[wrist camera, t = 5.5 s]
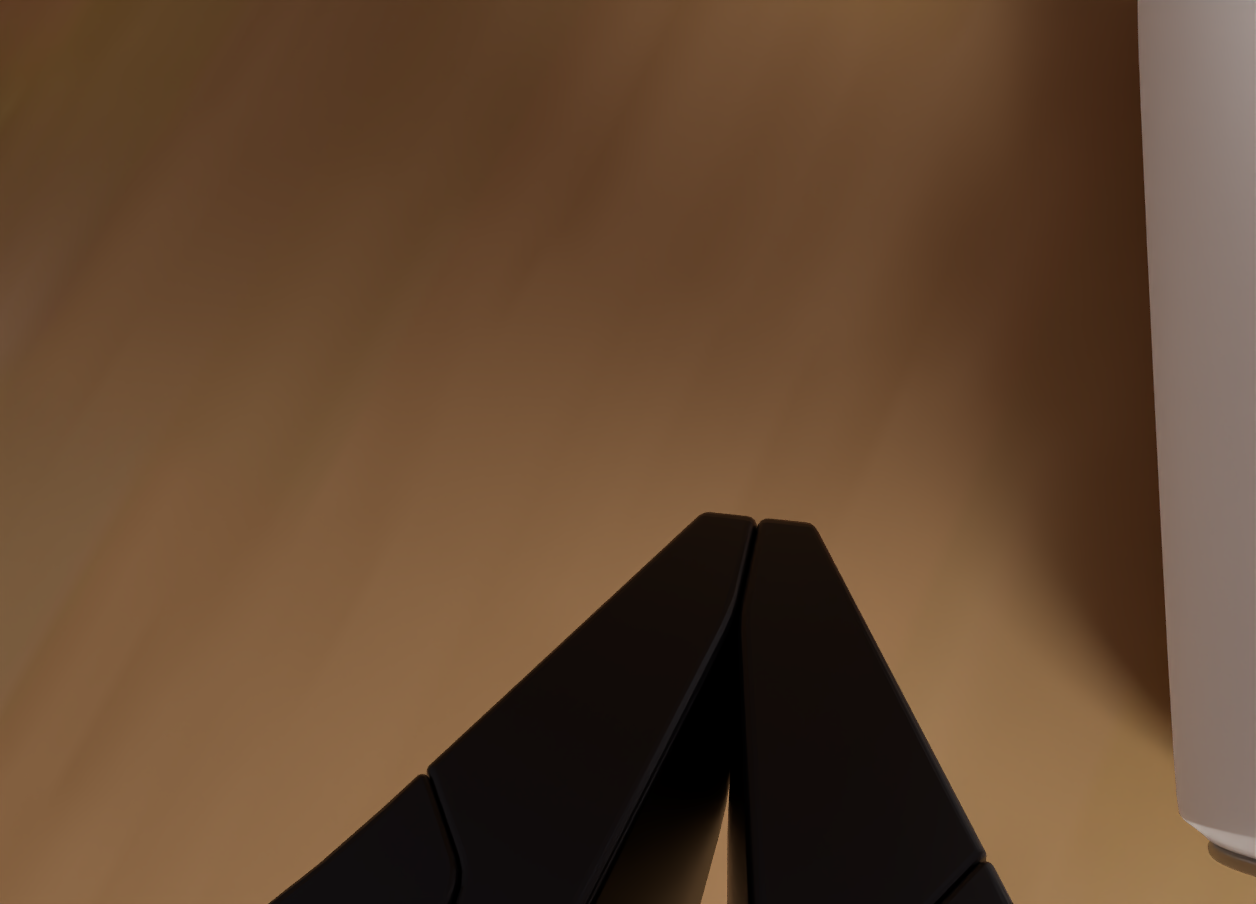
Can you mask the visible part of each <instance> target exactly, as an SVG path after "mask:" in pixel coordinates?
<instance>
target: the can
mask: <svg viewBox="0 0 1256 904" xmlns="http://www.w3.org/2000/svg"><path fill="white" fill-rule="evenodd" d="M1138 47H1139V73H1140V98H1141V123H1142V145H1143V167H1144V189H1145V211H1146V233H1147V254H1148V275H1149V296H1150V316H1151V337H1152V358H1153V379H1154V399H1155V419H1156V438H1157V458H1158V478H1159V498H1160V518H1161V538H1162V557H1163V575H1164V594H1165V613H1166V632H1167V651H1168V669H1169V686H1170V703H1171V720H1172V736H1173V753H1174V766H1175V779H1176V792H1177V801H1178V809H1179V814H1180V815H1181V817H1182V818H1183V819H1184V820H1185V821H1186V822H1188V823H1189V824H1190V825H1192V826H1193V827H1194V828H1196V829H1197V830H1198V831H1200V832H1201V833H1202V834H1203V835H1204V836H1205V837H1206V838H1207V839H1208V840H1209V841H1210V842H1209V843H1208V851H1209V853H1210V855H1211V856H1212V858H1214V859H1215V860H1216V861H1218V862H1219V863H1221V864H1223V865H1225V866H1227V867H1229V868H1232V869H1234V870H1237V871H1240V872H1243V873H1246V874H1249V875H1252V876H1255V877H1256V0H1138Z"/></svg>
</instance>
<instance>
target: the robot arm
mask: <svg viewBox="0 0 1256 904" xmlns="http://www.w3.org/2000/svg"><path fill="white" fill-rule="evenodd" d="M729 784H730V787H729ZM728 790H729V809H728V844H727V904H1013V902H1012V901H1011V899H1010V897H1009V895H1008V893H1007V891H1006V889H1005V887H1004V885H1003V883H1002V881H1001V879H1000V878H999V876H998V874H997V872H996V870H995V868H994V866H993V865H992V864H991V863H989V862H986V852H985V850H984V848H983V846H982V844H981V842H980V841H979V839H978V837H977V835H976V833H975V831H974V829H973V827H972V825H971V823H970V821H969V819H968V818H967V816H966V814H965V812H964V810H963V808H962V806H961V804H960V802H959V800H958V798H957V796H956V795H955V793H954V791H953V789H952V787H951V785H950V783H949V781H948V779H947V777H946V775H945V774H944V772H943V770H942V768H941V766H940V764H939V762H938V760H937V758H936V756H935V754H934V752H933V751H932V749H931V747H930V745H929V743H928V741H927V739H926V737H925V735H924V733H923V731H922V730H921V728H920V726H919V724H918V722H917V720H916V718H915V716H914V714H913V712H912V710H911V708H910V707H909V705H908V703H907V701H906V699H905V697H904V695H903V693H902V691H901V689H900V687H899V685H898V684H897V682H896V680H895V678H894V676H893V674H892V672H891V670H890V668H889V666H888V664H887V663H886V661H885V659H884V657H883V655H882V653H881V651H880V649H879V647H878V645H877V643H876V641H875V640H874V638H873V636H872V634H871V632H870V630H869V628H868V626H867V624H866V622H865V620H864V618H863V617H862V615H861V613H860V611H859V609H858V607H857V605H856V603H855V601H854V599H853V597H852V596H851V594H850V592H849V590H848V588H847V586H846V584H845V582H844V580H843V578H842V576H841V574H840V573H839V571H838V569H837V567H836V565H835V563H834V561H833V559H832V557H831V555H830V553H829V552H828V550H827V548H826V546H825V544H824V542H823V540H822V538H821V536H820V534H819V532H818V531H817V529H816V528H815V527H814V526H813V525H812V524H810V523H807V522H798V521H788V520H778V519H764V520H762V521H760V523H759V524H758V526H757V524H756V522H755V520H754V519H753V518H751V517H748V516H741V515H731V514H722V513H713V512H706V513H703V514H701V515H699V516H698V517H697V518H696V519H695V520H694V521H692V522H691V523H690V524H689V525H688V526H687V527H686V528H685V529H684V530H683V531H682V532H681V533H680V534H678V535H677V536H676V537H675V538H674V539H673V540H672V541H671V542H670V543H669V544H668V545H667V546H666V547H664V548H663V549H662V550H661V551H660V552H659V553H658V554H657V555H656V556H655V557H654V558H653V559H652V560H650V561H649V562H648V563H647V564H646V565H645V566H644V567H643V568H642V569H641V570H640V571H639V572H637V573H636V574H635V575H634V576H633V577H632V578H631V579H630V580H629V581H628V582H627V583H626V584H625V585H623V586H622V587H621V588H620V589H619V590H618V591H617V592H616V593H615V594H614V595H613V596H612V597H611V598H609V599H608V600H607V601H606V602H605V603H604V604H603V605H602V606H601V607H600V608H599V609H598V610H596V611H595V612H594V613H593V614H592V615H591V616H590V617H589V618H588V619H587V620H586V621H585V622H584V623H582V624H581V625H580V626H579V627H578V628H577V629H576V630H575V631H574V632H573V633H572V634H571V635H570V636H568V637H567V638H566V639H565V640H564V641H563V642H562V643H561V644H560V645H559V646H558V647H557V648H556V649H554V650H553V651H552V652H551V653H550V654H549V655H548V656H547V657H546V658H545V659H544V660H543V661H541V662H540V663H539V664H538V665H537V666H536V667H535V668H534V669H533V670H532V671H531V672H530V673H529V674H527V675H526V676H525V677H524V678H523V679H522V680H521V681H520V682H519V683H518V684H517V685H516V686H515V687H513V688H512V689H511V690H510V691H509V692H508V693H507V694H506V695H505V696H504V697H503V698H502V699H500V700H499V701H498V702H497V703H496V704H495V705H494V706H493V707H492V708H491V709H490V710H489V711H488V712H486V713H485V714H484V715H483V716H482V717H481V718H480V719H479V720H478V721H477V722H476V723H475V724H474V725H472V726H471V727H470V728H469V729H468V730H467V731H466V732H465V733H464V734H463V735H462V736H461V737H460V738H458V739H457V740H456V741H455V742H454V743H453V744H452V745H451V746H450V747H449V748H448V749H447V750H445V751H444V752H443V753H442V754H441V755H440V756H439V757H438V758H437V759H436V760H435V761H434V762H433V763H431V764H430V765H429V766H428V768H427V775H425V774H420V775H418V776H417V777H416V778H415V779H413V780H412V781H411V782H410V783H409V784H408V785H407V786H406V787H405V788H404V789H403V790H402V791H401V792H399V793H398V794H397V795H396V796H395V797H394V798H393V799H392V800H391V801H390V802H389V803H388V804H387V805H385V806H384V807H383V808H382V809H381V810H380V811H379V812H378V813H377V814H375V815H374V816H373V817H372V818H371V819H370V820H369V821H367V822H366V823H365V824H364V825H363V826H362V827H361V828H359V829H358V830H357V831H356V832H355V833H354V834H353V835H351V836H350V837H349V838H348V839H347V840H346V841H345V842H343V843H342V844H341V845H340V846H339V847H338V848H337V849H335V850H334V851H333V852H332V853H331V854H330V855H329V856H327V857H326V858H325V859H324V860H323V861H322V862H321V863H319V864H318V865H317V866H316V867H314V868H313V869H312V870H310V871H309V872H308V873H307V874H305V875H304V876H303V877H302V878H300V879H299V880H298V881H297V882H295V883H294V884H293V885H291V886H290V887H289V888H288V889H286V890H285V891H284V892H283V893H281V894H280V895H279V896H278V897H276V898H275V899H274V900H272V901H271V902H270V903H269V904H700V903H701V900H702V896H703V892H704V889H705V885H706V881H707V878H708V874H709V870H710V866H711V863H712V859H713V855H714V852H715V848H716V844H717V841H718V837H719V833H720V829H721V824H722V820H723V816H724V812H725V807H726V802H727V796H728Z"/></svg>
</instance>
